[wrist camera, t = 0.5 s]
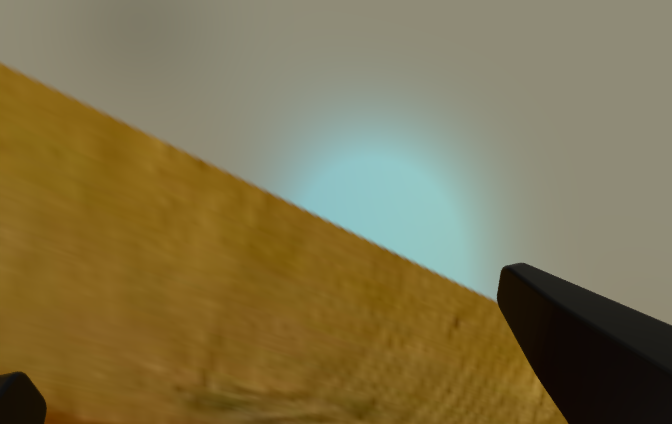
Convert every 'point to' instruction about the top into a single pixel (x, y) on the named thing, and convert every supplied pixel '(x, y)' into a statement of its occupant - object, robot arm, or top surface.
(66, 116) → the top surface
